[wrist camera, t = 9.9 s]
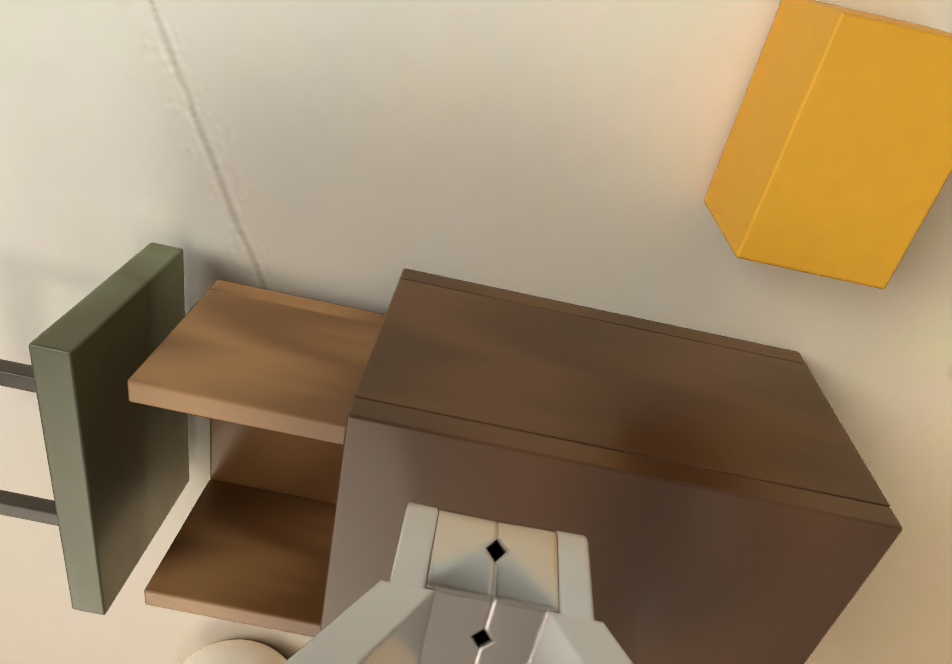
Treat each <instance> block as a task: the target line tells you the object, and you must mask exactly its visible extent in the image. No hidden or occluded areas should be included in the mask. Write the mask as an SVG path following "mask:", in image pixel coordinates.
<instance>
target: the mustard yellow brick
mask: <svg viewBox="0 0 952 664" xmlns="http://www.w3.org/2000/svg"><path fill="white" fill-rule="evenodd" d="M951 171H952V33H948V32H945V31H941V30H938V29H934V28H931V27H927V26H923V25H918V24H914V23H910V22H905V21H901V20H896V19H892V18H888V17H883V16H879V15H875V14H870V13H866V12H862V11H857V10H853V9H849V8H844V7H840V6H835V5H831V4H827V3H822V2H818V1H814V0H782V1H781V4H780V6H779V9H778V12H777V14H776V17H775V19H774V22H773V24H772V27H771V30H770V32H769V35H768V37H767V40H766V43H765V45H764V48H763V50H762V53H761V55H760V58H759V61H758V63H757V66H756V68H755V71H754V74H753V76H752V79H751V81H750V84H749V86H748V89H747V92H746V94H745V97H744V99H743V102H742V105H741V107H740V110H739V112H738V115H737V117H736V120H735V123H734V125H733V128H732V130H731V133H730V136H729V138H728V141H727V143H726V146H725V148H724V151H723V154H722V156H721V159H720V161H719V164H718V167H717V169H716V172H715V174H714V177H713V179H712V182H711V185H710V187H709V190H708V192H707V195H706V198H705V203H706V205H707V207H708V209H709V210H710V212H711V214H712V216H713V217H714V219H715V221H716V222H717V224H718V226H719V228H720V229H721V231H722V233H723V235H724V236H725V238H726V240H727V241H728V243H729V245H730V247H731V248H732V250H733V252H734V254H735V255H736V257H738V258H742V259H746V260H751V261H756V262H760V263H765V264H770V265H774V266H779V267H783V268H788V269H793V270H797V271H802V272H807V273H811V274H816V275H820V276H825V277H830V278H834V279H839V280H843V281H848V282H853V283H857V284H862V285H867V286H871V287H876V288H880V289H884V288H885V287H886V285H887V283H888V282H889V280H890V278H891V276H892V275H893V273H894V271H895V269H896V268H897V266H898V264H899V262H900V261H901V259H902V257H903V255H904V254H905V252H906V250H907V248H908V247H909V245H910V243H911V241H912V240H913V238H914V236H915V234H916V233H917V231H918V229H919V227H920V226H921V224H922V222H923V220H924V218H925V217H926V215H927V213H928V211H929V210H930V208H931V206H932V204H933V203H934V201H935V199H936V197H937V196H938V194H939V192H940V190H941V189H942V187H943V185H944V183H945V182H946V180H947V178H948V176H949V175H950V173H951Z"/></svg>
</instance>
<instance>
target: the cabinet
mask: <svg viewBox="0 0 952 664" xmlns="http://www.w3.org/2000/svg"><path fill="white" fill-rule="evenodd" d="M409 502H412V503H416V504H421V505H425V506H430V507H435V508H438V512H439V508H442V509H447V510H451V511H456V512H461V513H465V514H470V515H474V516H479V517H484V518H488V519H493V520H501V521H506V522H512V523H517V524H523V525H528V526H534V527H539V528H545V529H550V530H554V531H561V532H567V533H572V534H578V535H583V536H586V538H587V540H588V546H589V558H590V570H591V583H592V595H593V607H594V619H595V620H596V621H600V622H604V624H605V625H606V626H607V628H608V629H609V630H610V632H611V633H612V635H613V636H614V637H615V639H616V640H617V642H618V643H619V644H620V646H621V647H622V648H623V650H624V651H625V653H626V654H627V655H628V657H629V658H630V659H631V661H632V662H633V664H804V663H805V662H806V660H807V659H808V657H809V656H810V655H811V653H812V652H813V651H814V649H815V648H816V647H817V645H818V644H819V643H820V641H821V640H822V638H823V637H824V636H825V634H826V633H827V632H828V630H829V629H830V628H831V626H832V625H833V624H834V622H835V621H836V619H837V618H838V617H839V615H840V614H841V613H842V611H843V610H844V609H845V607H846V606H847V605H848V603H849V602H850V600H851V599H852V598H853V596H854V595H855V594H856V592H857V591H858V590H859V588H860V587H861V586H862V584H863V583H864V581H865V580H866V579H867V577H868V576H869V575H870V573H871V572H872V571H873V569H874V568H875V566H876V565H877V564H878V562H879V561H880V560H881V558H882V557H883V556H884V554H885V553H886V552H887V550H888V549H889V547H890V546H891V545H892V543H893V542H894V541H895V539H896V538H897V537H898V535H899V534H900V533H901V531H902V526H901V525H900V523H899V521H898V520H897V518H896V516H895V515H894V513H893V511H892V510H891V508H889V507H890V505H889V503H888V502H887V500H886V498H885V497H884V495H883V493H882V492H881V490H880V488H879V487H878V485H877V483H876V482H875V480H874V478H873V476H872V475H871V473H870V471H869V470H868V468H867V466H866V465H865V463H864V461H863V460H862V458H861V456H860V455H859V453H858V451H857V450H856V448H855V446H854V445H853V443H852V441H851V439H850V438H849V436H848V434H847V433H846V431H845V429H844V428H843V426H842V424H841V423H840V421H839V419H838V418H837V416H836V414H835V413H834V411H833V409H832V408H831V406H830V404H829V403H828V401H827V399H826V397H825V396H824V394H823V392H822V391H821V389H820V387H819V386H818V384H817V382H816V381H815V379H814V377H813V376H812V374H811V372H810V371H809V369H808V367H807V366H806V365H805V362H804V361H803V359H802V357H801V356H800V354H799V353H798V352H794V351H789V350H785V349H780V348H775V347H771V346H766V345H761V344H757V343H752V342H747V341H742V340H738V339H733V338H728V337H724V336H719V335H714V334H709V333H705V332H700V331H695V330H691V329H686V328H681V327H677V326H672V325H667V324H662V323H658V322H653V321H648V320H644V319H639V318H634V317H630V316H625V315H620V314H615V313H611V312H606V311H601V310H597V309H592V308H587V307H583V306H578V305H573V304H568V303H564V302H559V301H554V300H550V299H545V298H540V297H536V296H531V295H526V294H521V293H517V292H512V291H507V290H503V289H498V288H493V287H488V286H484V285H479V284H474V283H470V282H465V281H460V280H456V279H451V278H446V277H441V276H437V275H432V274H427V273H423V272H418V271H413V270H409V269H404V270H403V272H402V275H401V277H400V280H399V282H398V285H397V287H396V290H395V292H394V295H393V297H392V300H391V303H390V305H389V308H388V310H387V313H386V315H385V318H384V320H383V323H382V326H381V328H380V331H379V333H378V336H377V338H376V341H375V344H374V346H373V349H372V351H371V354H370V356H369V359H368V361H367V364H366V367H365V369H364V372H363V374H362V377H361V379H360V382H359V384H358V387H357V390H356V392H355V395H354V399H353V401H352V403H351V406H350V408H349V411H348V413H347V418H346V425H345V433H344V441H343V449H342V457H341V465H340V473H339V481H338V489H337V497H336V505H335V513H334V521H333V529H332V537H331V545H330V553H329V561H328V569H327V577H326V585H325V593H324V601H323V609H322V617H321V625H320V632H321V631H322V630H323V629H324V628H325V627H327V626H328V625H329V624H330V623H331V622H332V621H334V620H335V619H336V618H337V617H338V616H339V615H341V614H342V613H343V612H344V611H345V610H346V609H348V608H349V607H350V606H351V605H352V604H353V603H355V602H356V601H357V600H358V599H359V598H360V597H362V596H363V595H364V594H365V593H366V592H367V591H369V590H370V589H371V588H372V587H373V586H374V585H376V584H377V583H378V582H379V581H380V580H383V581H389V582H390V578H391V573H392V569H393V565H394V560H395V556H396V552H397V547H398V543H399V538H400V534H401V530H402V525H403V521H404V517H405V512H406V509H407V506H408V504H409Z"/></svg>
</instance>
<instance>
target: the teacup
mask: <svg viewBox="0 0 952 664" xmlns="http://www.w3.org/2000/svg"><path fill="white" fill-rule="evenodd" d="M286 661H287V660H286V659H285V658H284V657H283V656H282V655H281V654H280V653H279V652H277V651H276V650H274V649H273V648H271V647H269V646H267V645H265V644H262V643H259V642H256V641H251V640H244V639H235V640H226V641H220V642H216V643H213V644H210V645H208V646H206V647H204V648H202V649H200V650H198V651H197V652H195V653H194V654H192V655H191V656H190V657H188V658H187V659H186V660H185V661H184V662H183V663H182V664H283V663H285V662H286Z"/></svg>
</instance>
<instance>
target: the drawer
mask: <svg viewBox="0 0 952 664" xmlns="http://www.w3.org/2000/svg"><path fill="white" fill-rule="evenodd" d="M384 318H385V315H384V314H379V313H375V312H370V311H365V310H360V309H356V308H351V307H346V306H341V305H337V304H332V303H327V302H322V301H318V300H313V299H308V298H303V297H299V296H294V295H289V294H284V293H280V292H275V291H270V290H265V289H261V288H256V287H251V286H246V285H242V284H237V283H232V282H227V281H223V280H217V281H216V282H215V283H214V285H213V286H212V287H211V288H210V290H208V291H207V292H206V293H205V294H204V296H203V297H202V298H201V299H200V300H199V301H198V302H197V303H196V305H195V306H194V307H193V308H192V309H191V310H190V311H189V312H188V314H187V315H186V316H185V305H184V267H183V249H180V248H176V247H171V246H166V245H162V244H157V243H150V244H149V245H147V246H146V247H145V248H144V249H143V250H141V251H140V252H139V253H138V254H137V255H135V256H134V257H133V258H132V259H131V260H129V261H128V262H127V263H126V264H125V265H123V266H122V267H121V268H120V269H119V270H117V271H116V272H115V273H114V274H113V275H111V276H110V277H109V278H108V279H107V280H105V281H104V282H103V283H102V284H101V285H99V286H98V287H97V288H96V289H95V290H93V291H92V292H91V293H90V294H89V295H87V296H86V297H85V298H84V299H83V300H81V301H80V302H79V303H78V304H77V305H75V306H74V307H73V308H72V309H71V310H69V311H68V312H67V313H66V314H65V315H63V316H62V317H61V318H60V319H58V320H57V321H56V322H55V323H54V324H52V325H51V326H50V327H49V328H48V329H46V330H45V331H44V332H43V333H42V334H40V335H39V336H38V337H37V338H36V339H34V340H33V341H32V342H31V343H30V344H29V351H30V357H31V363H32V366H31V365H26V364H22V363H17V362H12V361H7V360H2V359H0V385H1V386H6V387H11V388H16V389H21V390H26V391H31V392H36V393H37V399H38V405H39V411H40V417H41V423H42V428H43V434H44V440H45V446H46V452H47V458H48V464H49V470H50V476H51V482H52V488H53V494H54V500H55V501H53V500H48V499H43V498H38V497H33V496H28V495H23V494H18V493H13V492H8V491H3V490H0V514H1V515H6V516H11V517H16V518H21V519H26V520H31V521H37V522H42V523H47V524H52V525H57V526H59V530H60V536H61V542H62V548H63V554H64V560H65V566H66V572H67V578H68V584H69V590H70V596H71V602H72V608H73V609H75V610H80V611H86V612H91V613H96V614H101V615H105V614H106V612H107V611H108V609H109V607H110V606H111V604H112V603H113V601H114V600H115V598H116V596H117V595H118V593H119V592H120V590H121V588H122V587H123V585H124V584H125V582H126V580H127V579H128V577H129V576H130V574H131V572H132V571H133V569H134V568H135V566H136V564H137V563H138V561H139V560H140V558H141V556H142V555H143V553H144V552H145V550H146V548H147V547H148V545H149V544H150V542H151V540H152V539H153V537H154V536H155V534H156V532H157V531H158V529H159V528H160V526H161V524H162V523H163V521H164V520H165V518H166V516H167V515H168V513H169V512H170V510H171V508H172V507H173V505H174V504H175V502H176V500H177V499H178V497H179V496H180V494H181V492H182V491H183V489H184V488H185V486H186V484H187V483H188V481H189V453H188V416H187V413H188V414H193V415H198V416H203V417H208V418H210V460H211V480H209V482H208V483H207V485H206V487H205V488H204V490H203V492H202V494H201V495H200V497H199V499H198V500H197V502H196V504H195V505H194V507H193V509H192V511H191V512H190V514H189V516H188V517H187V519H186V521H185V522H184V524H183V526H182V527H181V529H180V531H179V533H178V534H177V536H176V538H175V539H174V541H173V543H172V544H171V546H170V548H169V550H168V551H167V553H166V555H165V556H164V558H163V560H162V561H161V563H160V565H159V566H158V568H157V570H156V572H155V573H154V575H153V577H152V578H151V580H150V582H149V583H148V585H147V587H146V589H145V590H144V593H145V603H146V604H147V605H152V606H157V607H162V608H167V609H172V610H178V611H183V612H188V613H193V614H198V615H203V616H208V617H214V618H219V619H224V620H229V621H234V622H239V623H244V624H249V625H255V626H260V627H265V628H270V629H275V630H280V631H285V632H291V633H296V634H301V635H306V636H311V637H315V636H316V635H317V634H318V633H320V625H321V617H322V609H323V601H324V593H325V585H326V577H327V569H328V561H329V553H330V545H331V537H332V529H333V521H334V513H335V505H336V497H337V489H338V481H339V473H340V465H341V457H342V449H343V441H344V433H345V425H346V418H347V413H348V411H349V408H350V406H351V403H352V401H353V399H354V395H355V392H356V390H357V387H358V384H359V382H360V379H361V377H362V374H363V372H364V369H365V367H366V364H367V361H368V359H369V356H370V354H371V351H372V349H373V346H374V344H375V341H376V338H377V336H378V333H379V331H380V328H381V326H382V323H383V320H384Z"/></svg>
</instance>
